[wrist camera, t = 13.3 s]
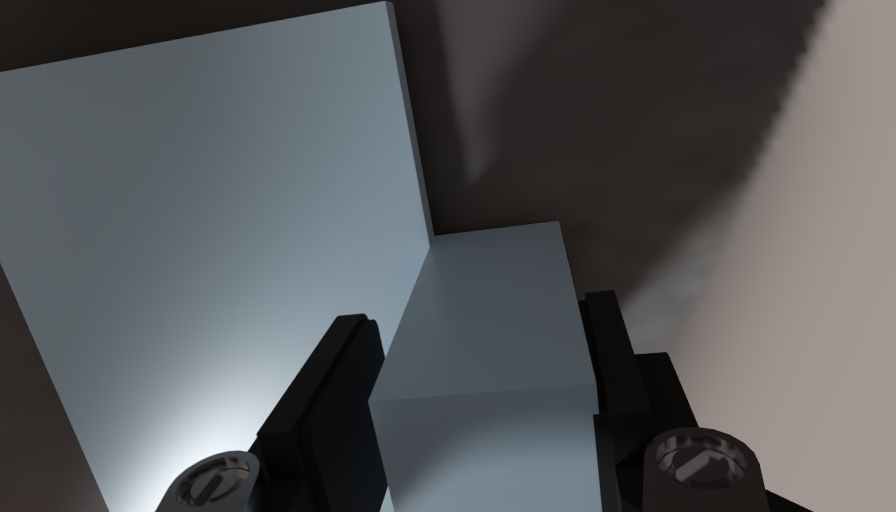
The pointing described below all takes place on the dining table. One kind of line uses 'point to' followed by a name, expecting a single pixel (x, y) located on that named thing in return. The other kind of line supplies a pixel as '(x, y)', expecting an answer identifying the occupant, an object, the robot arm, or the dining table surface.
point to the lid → (281, 268)
